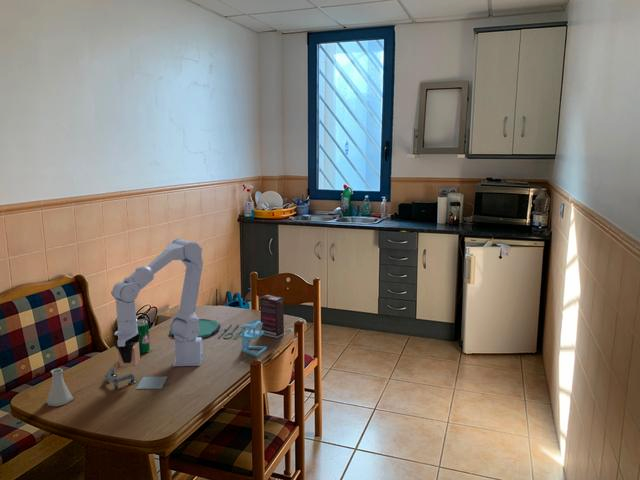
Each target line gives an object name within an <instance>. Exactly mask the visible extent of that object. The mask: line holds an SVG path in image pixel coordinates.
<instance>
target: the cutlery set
mask: <svg viewBox="0 0 640 480" xmlns="http://www.w3.org/2000/svg"><path fill="white" fill-rule="evenodd" d="M221 325H222V324H221V323H220V322H219V321H217V320H215V319H214V320H213V319H208V318H207V319H205V318H199V329H200V331H199V334H198V336H197V337H200V338H202V339H203V338H208V337H210V336H211V335H213V334H214V333H216V332H218V331H219V330H220V327H221ZM230 327H232V324H229V326H228V327H226V328H224V329H223V331H222V332H221V333H220V334H219V335H218V337H217V338H218V339H220V338H221V337H222V336H223V335H224V336H223V338H224V339H231V338H232V340H238V339H239V338H240V337H239V336H240V335H241V334H242V329H241V330H240V331H239V332H237V333H235V335H234V334H233V333H234V331H235V330H236V329H237V328H238V327H240V324H235V327H233V329H232V331H231V332H228V333H226V332H227V331H228V329H230ZM243 329H244V330H245V329H246V328H243ZM225 333H226V334H225ZM169 335H170V336H172V337H173V336H174V334H173V333H172V332H171V331H170V330H169ZM230 335H231V336H230ZM227 336H230V337H227ZM233 336H234V337H233Z"/></svg>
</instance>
